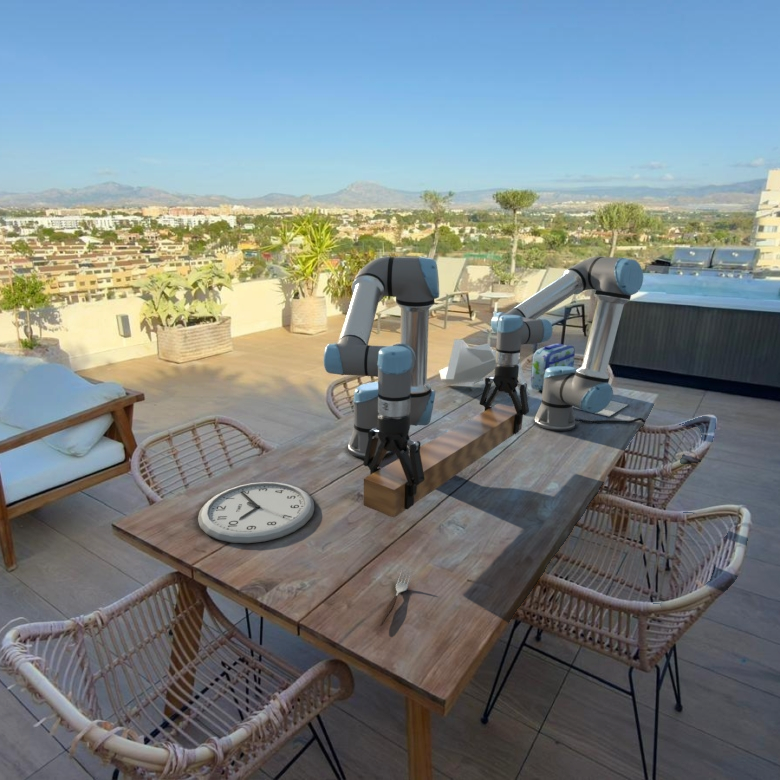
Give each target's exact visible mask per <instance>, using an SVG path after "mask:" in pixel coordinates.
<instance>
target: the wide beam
mask: <svg viewBox="0 0 780 780" xmlns="http://www.w3.org/2000/svg"><path fill="white" fill-rule="evenodd" d="M490 407H491V408H489V409H488V410H486V411H485V410H484V411H482V412H481V413H478V414H476V415H475V416H473V417H472V418H471V417H470V419H468V420H466V421H464V422H463V423H461V424H459V425H457V426H455V427H453V428H452V429H450V430H448V431H446V432H445V433H442V434H441V435H439V436H437V437H436V438H434V439H432V440H430V441H428V442H426V443H425V444H423V445H420V456H421V461H422V467H423V473H424V478H425V480H424V481H423V482H421V483H420V484H418V485H417V493H416V495H415V496H414V505H415V504H416V503H418V502H419V501H420V500H421V499H423V498H425V497H426V496H427V495H429V494H430V493H432V492H434V491H435V490H436V489H438V488H439V487H441V486H442V485H444V484H445V483H446V482H448V481H449V480H450V479H452V478H454V477H455V476H457V475H458V474H459V473H461V472H462V471H463V470H465V469H466V468H468V467H469V466H471V465H473V464H474V463H475V462H477V461H478V460H479V459H481V458H482V457H484V456H485V455H487V454H489V452H491V451H492V450H494V449H495V448H497V447H498V446H500V445H502V444H503V443H504V442H505V441H507V440H508V439H510V438H511V437H513V436H514V435H515V434H513V430H514V418H515V415H516V414H517V412H516V410H515V407H514V406H511V405H507V404H501V403H497V404H495V405H493V406H490ZM522 427H523V422H522V423H521V424H520V425H519V432H520V431H521V430H522ZM409 456H410V452H409ZM380 468H381V469H380V470H378V471H376V472H374V473H373V474H371V475H370V474H369V475H367V476H365V477H363V506H365V507H367V508H369V509H372V510H374V511H376V512H379V513H381V514H384V515H386V516H388V517H391V518H393V519H395V518H396V517H397V516H399V515H400V514H401V513H403V512H404V511H406V510H407V509H405V484H406V483H407V482H408V481H407V479H406V476H405V473H404V471H403V468H402V465H401V463H400V460H399V458H397V459H396V460H394V461H392V462H390V463H389V464H387V465H384V466H383V467H380Z"/></svg>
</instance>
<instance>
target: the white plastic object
mask: <svg viewBox="0 0 780 780" xmlns="http://www.w3.org/2000/svg"><path fill="white" fill-rule="evenodd" d="M496 313H497V311H496V310H495V311H492V315H493V316H494V315H495V314H496ZM495 360H496V349H493V348H492V347H491V346H490V344H489V343H488V342H487V343H483V344H479V345H473V346H469V345H468V343H466V342H465V340H464V339H463V338H460V339H458V338H454V340H453V344H452V349H451V353H450V357H449V362H448V366H446V367H444V368H442V369H440V370H439V371H438V372H439V376H440V381H442V383H443V384H444V385H445V386H449V385H458V384H467V383H468V384H469V383H473V384H477V383H480V382H482V381H484V378H486V376H487V375H489V374H490V373H492V372H494V371H495V364H496V362H495ZM518 366H519V372H518V380H519V383H522V384H524V383H526V384H527V381H526V378H525V375H524V371H523V369H522V368H523V367H522V366H521V362H520V361H519V364H518ZM528 387H529V386H527V389H526V393H527V397H528V396H531V395H530V390H529V388H528Z"/></svg>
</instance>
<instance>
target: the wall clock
mask: <svg viewBox="0 0 780 780" xmlns="http://www.w3.org/2000/svg"><path fill="white" fill-rule="evenodd" d="M314 512H315V503H314V499H313V498H312V497H311V495H310V493H307V492H306V491H304V490H303V489H301V488H300V487H297V486H295V485H292V484H289V483H283V482H276V481H275V482H274V481H273V482H272V481H261V482H251V483H245V484H241V485H237V486H235V487H234V486H233V487H231V488H229V489H226V490H224V491H222V492H219V493H217V494H215V495H214V496H213V497H211V499H209V500H208V501H206V502H205V503H204V505H202V507H201V509H200V510H199V512H198V518H197V521H198V525H199V528H200V530H202V531H203V532H204V533H205V534H206V535H207V536H210V537H212V538H213V539H215V540H218V541H222V542H227V543H233V544H234V543H235V544H253V543H262V542H269V541H272V540H276V539H280V538H283V537H285V536H287V535H290V534H292V533H294V532H296V531H298V530H299V529H300V528H302V527H304V526H305V525H306V524H307V523H308V522H309V520H310V519H312V517H313V515H314Z"/></svg>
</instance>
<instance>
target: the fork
mask: <svg viewBox="0 0 780 780" xmlns="http://www.w3.org/2000/svg"><path fill="white" fill-rule="evenodd" d="M402 573H403V575H402ZM412 573H413V571H410V574H409V572H407V573H406V571H404V572H403V570H400V574H399V577H398V579H397V582H396V584H395V590H396V593H395V595H394V596H393V597H392V599H391V600H390V601H389V603H388V605H387V607H386V609H385V611H384V615H383V617H382V619H381V622H380V624H379V626H380V627H382V626H383V624H384V623H385V621H386V619H388V617H389V615H390V614H391V612H392V611H393V609H394V607H395V605H396V602H397V600H398V596H399V594H401V593H404V592H405V591H407V590H408V588H409V585H410V581H411V578H412ZM405 574H406V576H405ZM408 575H409V577H408ZM407 580H408V581H407Z"/></svg>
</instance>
